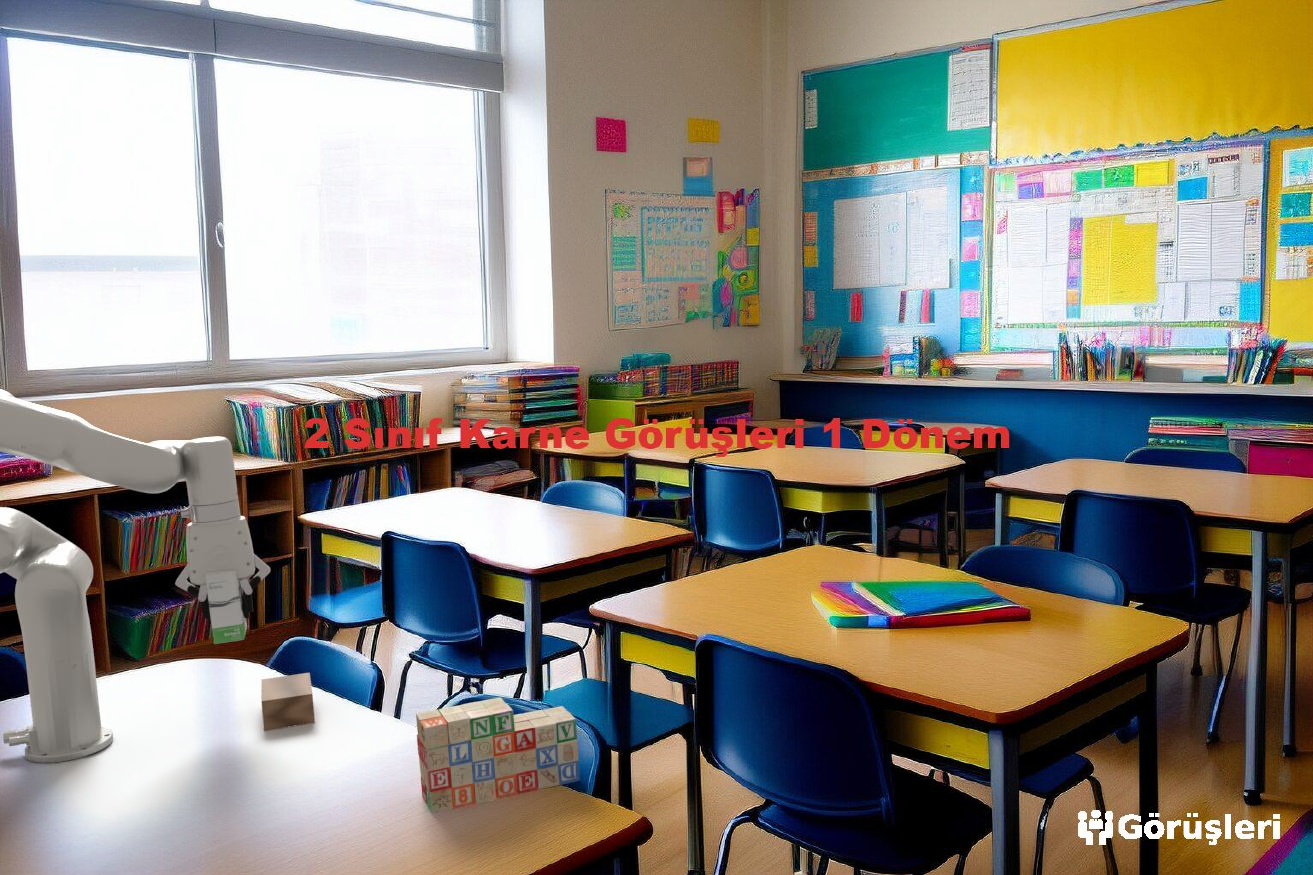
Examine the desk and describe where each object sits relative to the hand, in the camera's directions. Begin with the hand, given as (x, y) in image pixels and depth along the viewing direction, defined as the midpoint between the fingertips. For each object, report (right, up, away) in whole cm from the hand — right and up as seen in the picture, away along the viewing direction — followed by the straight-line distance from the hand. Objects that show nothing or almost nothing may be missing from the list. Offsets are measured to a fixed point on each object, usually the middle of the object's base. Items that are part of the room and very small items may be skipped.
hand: (228, 618), depth 185 cm
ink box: (0, -3, 0) cm, 3 cm away
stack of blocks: (+49, -20, -29) cm, 60 cm away
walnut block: (+8, -17, +5) cm, 20 cm away
